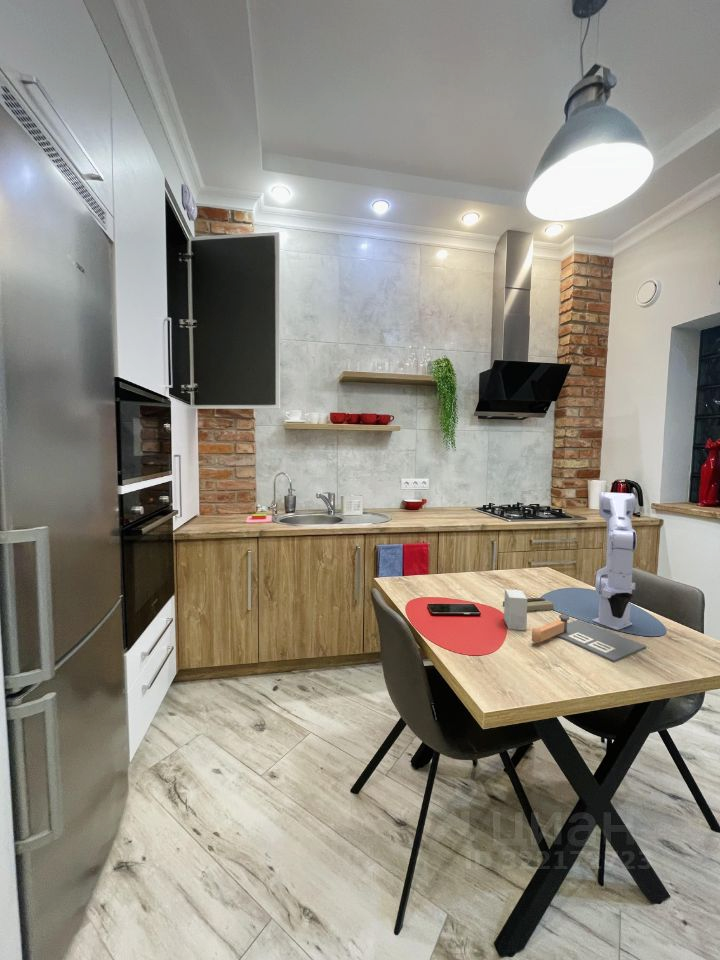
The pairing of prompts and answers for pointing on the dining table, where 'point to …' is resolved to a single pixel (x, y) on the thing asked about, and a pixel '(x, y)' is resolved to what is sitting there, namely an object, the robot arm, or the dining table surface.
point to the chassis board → (598, 640)
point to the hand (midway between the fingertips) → (617, 616)
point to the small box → (515, 609)
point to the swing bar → (547, 631)
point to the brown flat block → (538, 605)
